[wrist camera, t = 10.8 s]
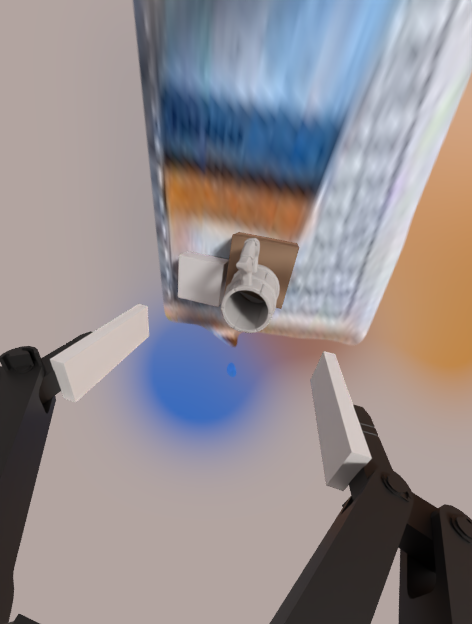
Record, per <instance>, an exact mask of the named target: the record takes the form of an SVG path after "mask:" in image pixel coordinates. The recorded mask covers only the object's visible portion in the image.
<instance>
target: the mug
mask: <svg viewBox="0 0 472 624" xmlns="http://www.w3.org/2000/svg"><path fill="white" fill-rule="evenodd" d="M259 251H260V242H259V241H258V240H257V238H249V239H247V240H246V241H245V242H244V246H243V249H242V252H241V255H240V260H239V262H237V264H236V267H237V269H239V270H238V271H237V272H236V273H235V274H234V276H233V279H232V281H231V283H230V284H228V286H227V288H226V291H225V294H224V298H223V300H222V303H221V311H222V314H223V317H224V320H225V321H226V323H227V324H228V325H229V326H230V327H231V328H233V329H235V330H237V331H239V332H241V331H244V332H245V333H254V332H258V331H261V330H262V329H264V328H265V327H266V326H267V325H268V323H269V322H270V320H271V317H272V315H273V313H274V311H275V308H276V302H277V298H278V296H279V291H280V285H279V280H278V278H277V277H276V275H275V274H274V273H273V272H272V271H271V270H270V269H269V268H267V267H265V266H263V265H259V264H258V257H259ZM242 290H247V291H252V292H255V293H257V294H259V295H260V296H261V297H262V298H263V299H264V301H261V300H259V299H257V298H255V297H252V296H250V295H248V294H246V293H243V292H241V291H242ZM241 294H243V295H244V296H245V297H246V298H247V299H249V300H250V301H251V302H250V301H248V300H246V299H245V298H244V297H243V296H242V295H241Z"/></svg>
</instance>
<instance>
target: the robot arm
mask: <svg viewBox="0 0 472 624" xmlns="http://www.w3.org/2000/svg"><path fill="white" fill-rule="evenodd" d="M147 337H149V325H148V307H147V306H144V305H140V304H138V305H136V306H134V307H133V308H131V309H130V310H128V311H126V312H125V313H123V314H121V315H120V316H118V317H117V318H115V319H114V320H112V321H110V322H109V323H107V324H105V325H104V326H102V327H101V328H99V329H97V330H96V331H94V332H88V333H85V334H82V335H80V336H78V337H76V338H75V339H73V340H72V341H70V342H68V343H66V345H63V346H61V347H60V348H58V349H56V350H55V351H53V352H51V353H50V354H48V355H46V356H45V357H43V358H41V357H40V355H39V352H38V350H37V349H36V348H35V347H31V346H24V347H19V348H15V349H12V350H9V351H7V352H5V353H3V354H2V355H1V356H0V362H1V364H2V367H1V366H0V624H39V623H37V622H35V621H33V620H31V619H29V618H27V617H25V616H23V615H21V614H18V616H17V617H16V619H15V620H14V621H13V622H10V623H8V622H9V617H10V613H11V608H12V603H13V596H14V583H13V571H14V566H15V562H16V557H17V553H18V550H19V546H20V542H21V538H22V533H23V530H24V526H25V522H26V518H27V514H28V510H29V506H30V502H31V498H32V494H33V490H34V486H35V482H36V478H37V474H38V470H39V466H40V462H41V458H42V454H43V450H44V446H45V442H46V438H47V434H48V430H49V426H50V422H51V418H52V413H53V409H54V406H55V402H56V398H55V395H56V394H57V393H59V392H60V391H61V392H62V396H63V398H64V399H67V400H70V401H73V402H77V401H78V400H79V399H80V398H81V397H82V396H84V395H85V394H86V393H87V392H88V391H89V390H90V389H91V388H92V387H93V386H94V385H96V384H97V383H98V382H99V381H100V380H101V379H102V378H103V377H104V376H106V375H107V374H108V373H109V372H110V371H111V370H112V369H113V368H114V367H116V366H117V365H118V364H119V363H120V362H121V361H122V360H123V359H124V358H125V357H127V356H128V355H129V354H130V353H131V352H132V351H133V350H134V349H135V348H136V347H138V346H139V345H140V344H141V343H142V342H143V341H144V340H145V339H146V338H147ZM310 381H311V387H312V394H313V401H314V407H315V414H316V420H317V427H318V434H319V441H320V447H321V454H322V461H323V467H324V474H325V481H326V485H327V486H330V487H333V488H336V489H339V490H342V491H344V490H345V489H346V487H347V486H348V485H349V487H350V491H351V497H350V498H349V499H348V500H347V501H346V502H345V503H344V504H343V505H342V506H343V508H342V510H341V512H340V513H339V515H338V516H337V518H336V519H335V521H334V523H333V524H332V526H331V528H330V529H329V531H328V532H327V534H326V535H325V537H324V539H323V540H322V542H321V543H320V545H319V546H318V548H317V550H316V551H315V553H314V554H313V556H312V558H311V559H310V561H309V562H308V564H307V565H306V567H305V569H304V570H303V572H302V573H301V575H300V577H299V578H298V580H297V581H296V583H295V584H294V586H293V587H292V589H291V591H290V592H289V594H288V595H287V597H286V599H285V600H284V602H283V603H282V605H281V606H280V608H279V610H278V611H277V613H276V615H275V616H274V618H273V619H272V621H271V622H270V624H371V621H372V618H373V616H374V613H375V610H376V607H377V604H378V602H379V599H380V596H381V593H382V591H383V588H384V585H385V582H386V579H387V577H388V574H389V571H390V568H391V565H392V563H393V560H394V557H395V554H396V552H397V549H398V548H400V588H399V624H472V520H471V519H470V518H469V517H468V516H467V515H465V514H464V513H463V512H462V511H460V510H459V509H457V508H455V507H453V506H450V505H443V506H441V507H439V508H436V507H435V506H433V505H431V504H430V503H428V502H427V501H425V500H423V499H422V498H420V497H419V496H417V495H415V494H414V493H413V492H411V489H410V488H409V486H408V485H407V483H406V482H405V481H404V480H403V479H402V478H401V476H400V475H398V474H397V473H396V472H394V471H393V469H392V467H391V465H390V463H389V460H388V458H387V456H386V453H385V451H384V448H383V446H382V443H381V441H380V439H379V437H378V434H377V431H376V429H375V428H374V424H373V422H372V419H371V417H370V416H369V415H368V413H367V412H366V411H365V409H364V408H363V407H360V406H356V405H353V403H352V401H351V398H350V395H349V392H348V389H347V387H346V384H345V381H344V378H343V376H342V373H341V370H340V367H339V364H338V361H337V358H336V355H335V354H333V353H329V352H325V351H324V352H323V353H322V356H321V358H320V360H319V362H318V364H317V367H316V369H315V371H314V373H313V376H312V378H311V380H310Z"/></svg>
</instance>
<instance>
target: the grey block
mask: <svg viewBox="0 0 472 624" xmlns="http://www.w3.org/2000/svg"><path fill="white" fill-rule="evenodd" d="M228 264H229V260H228V259H224V258H219V257H214V256H210V255H205V254H200V253H196V252H191V251H187V252H185V253H182V254H180V255H179V274H178V297H179V298H183V299H188V300H192V301H196V302H200V303H204V304H208V305H212V306H216V307H218V306H219V305H220V304H221V302H222V300H223V298H224V292H225V285H226V278H227V271H228Z"/></svg>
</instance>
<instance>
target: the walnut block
mask: <svg viewBox="0 0 472 624" xmlns="http://www.w3.org/2000/svg"><path fill="white" fill-rule="evenodd" d="M249 238H257V240H258V241H259V242H260V251H259V257H258V264H259V265H263V266H265V267H267V268H269V269H270V270H271V271H272V272H273V273H274V274H275V275H276V277H277V278H278V280H279V285H280V291H279V296H278V298H277V302H276V308H280V309H281V308H282V304H283V301H284V298H285V294H286V291H287V287H288V284H289V281H290V277H291V274H292V270H293V267H294V264H295V260H296V257H297V253H298V250H299V246H298V244H297V243H292V242H287V241H282V240H277V239H272V238H267V237H262V236H257V235H252V234H246V233H241V232H238V233H236V234H233V235H232V242H231V249H230V256H229V264H228V271H227V278H226V285H225V291H226V288H227V286H228V284H230V283H231V281H232V279H233V276H234V274H235V273H236V272H237V271H238V270H239V269H237V267H236V264H237V262H239V260H240V255H241V252H242V249H243V246H244V242H245V241H246V240H247V239H249ZM241 292H243V293H246V294H248V295H250V296H252V297H255V298H257V299H259V300H261V301H264V299H263V298H262V297H261V296H260V295H259V294H257V293H255V292H252V291H247V290H242V291H241ZM224 294H225V292H224ZM241 295H242V296H243V297H244V298H245V299H246V300H248V301H250V300H249V299H247V298H246V297H245V296H244V295H243V294H241ZM250 302H251V301H250Z"/></svg>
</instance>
